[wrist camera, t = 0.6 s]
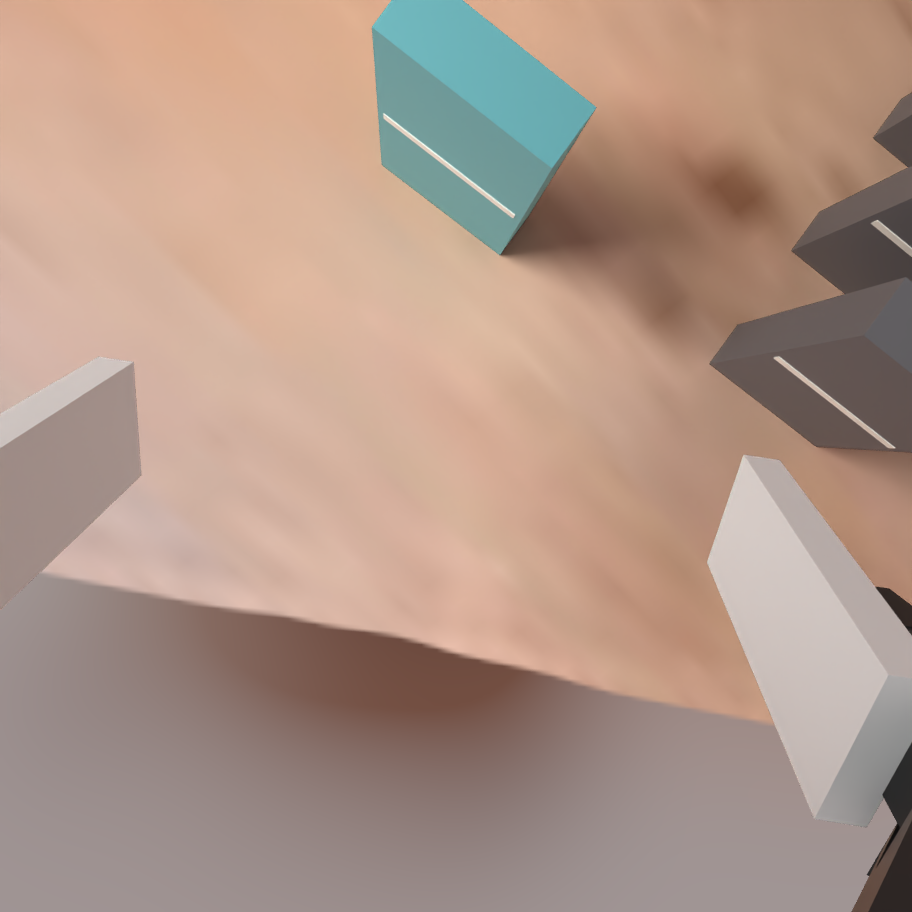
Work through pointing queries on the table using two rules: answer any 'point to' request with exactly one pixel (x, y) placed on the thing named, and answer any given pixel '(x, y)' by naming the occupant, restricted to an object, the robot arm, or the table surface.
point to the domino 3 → (898, 131)
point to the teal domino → (470, 115)
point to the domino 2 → (833, 367)
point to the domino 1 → (863, 236)
